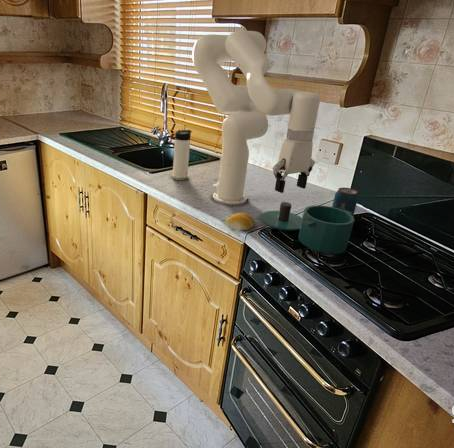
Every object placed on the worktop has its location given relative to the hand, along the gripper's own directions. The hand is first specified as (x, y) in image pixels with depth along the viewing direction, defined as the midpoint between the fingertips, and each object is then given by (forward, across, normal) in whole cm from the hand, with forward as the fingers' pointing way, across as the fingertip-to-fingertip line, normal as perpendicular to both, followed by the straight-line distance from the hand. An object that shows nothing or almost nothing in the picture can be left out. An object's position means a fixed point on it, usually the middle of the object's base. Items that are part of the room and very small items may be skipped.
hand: (290, 189), depth 128 cm
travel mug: (+11, +7, -53) cm, 54 cm away
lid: (+11, 0, -1) cm, 11 cm away
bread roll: (+12, +15, -5) cm, 20 cm away
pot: (+12, 0, +15) cm, 20 cm away
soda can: (+12, -17, +8) cm, 22 cm away
